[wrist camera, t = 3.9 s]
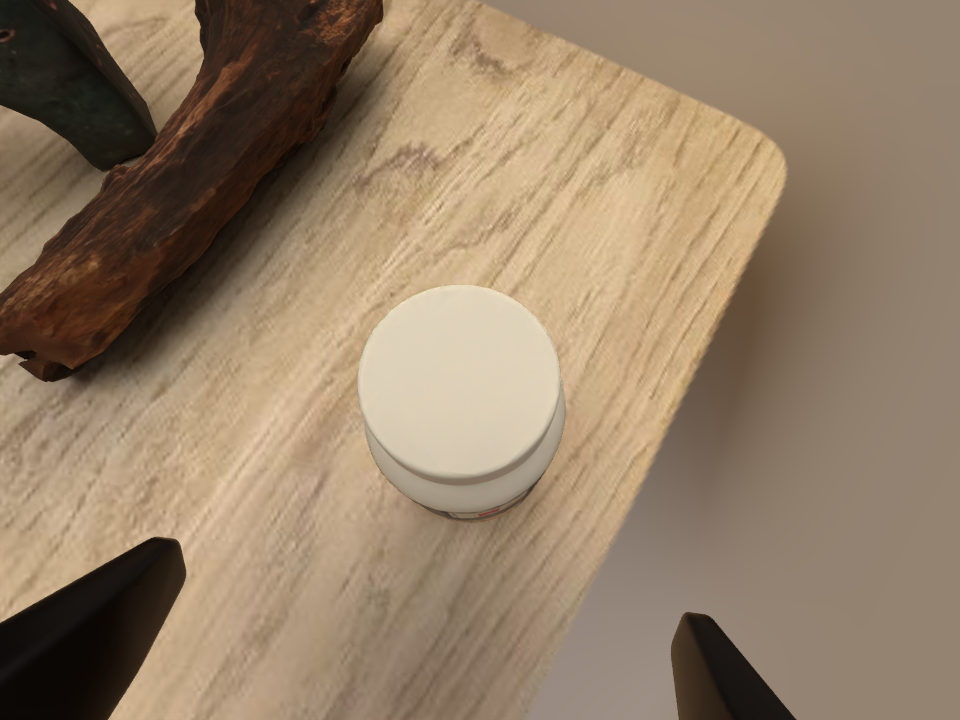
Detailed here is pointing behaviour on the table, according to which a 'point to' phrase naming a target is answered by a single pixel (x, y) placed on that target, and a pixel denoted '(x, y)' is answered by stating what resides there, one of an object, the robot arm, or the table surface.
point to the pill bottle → (462, 400)
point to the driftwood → (185, 175)
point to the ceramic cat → (70, 81)
